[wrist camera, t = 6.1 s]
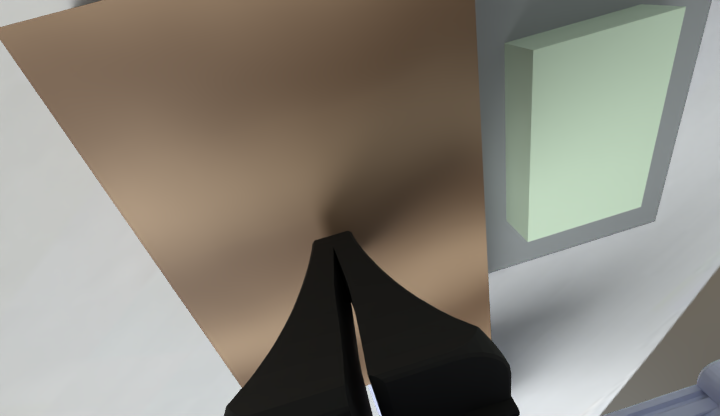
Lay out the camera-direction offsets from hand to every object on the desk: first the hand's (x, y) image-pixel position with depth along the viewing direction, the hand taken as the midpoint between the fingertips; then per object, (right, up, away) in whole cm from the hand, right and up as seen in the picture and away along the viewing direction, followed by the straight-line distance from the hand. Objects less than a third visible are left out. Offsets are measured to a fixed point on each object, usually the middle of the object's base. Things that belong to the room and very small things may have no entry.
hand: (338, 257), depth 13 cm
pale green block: (+11, +5, +3) cm, 12 cm away
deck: (-1, +2, +4) cm, 5 cm away
